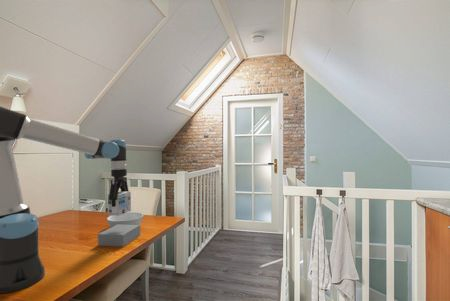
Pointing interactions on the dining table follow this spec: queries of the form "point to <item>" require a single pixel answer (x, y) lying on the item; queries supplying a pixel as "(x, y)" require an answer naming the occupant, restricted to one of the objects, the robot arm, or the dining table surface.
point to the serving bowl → (125, 219)
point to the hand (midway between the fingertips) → (119, 209)
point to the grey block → (118, 235)
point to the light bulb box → (121, 203)
